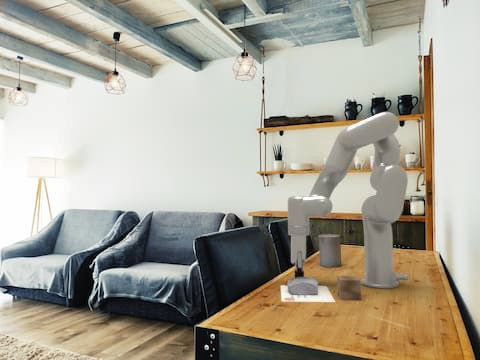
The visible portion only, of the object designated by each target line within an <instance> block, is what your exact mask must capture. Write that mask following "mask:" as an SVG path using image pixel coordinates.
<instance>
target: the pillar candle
mask: <svg viewBox="0 0 480 360" xmlns="http://www.w3.org/2000/svg"><path fill="white" fill-rule="evenodd" d="M341 246H342V245H341V234H336V233H331V232H329V234H328V233H327V234H324V233H323V234H319V235H318V251H319V252H318V253H319V266H320V267H326V268H339V267H341V266H342V247H341Z"/></svg>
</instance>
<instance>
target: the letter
mask: <svg viewBox="0 0 480 360" xmlns="http://www.w3.org/2000/svg"><path fill="white" fill-rule="evenodd" d="M280 298H281V299H280V300H281V301H280V302H281V303H336V300H335V299H334V297H333V295H332V294H331V292H330V290H329V288H328V286H327V285H318V294H317V295H296V294H291V293H290V292H289V291H288V287H287V284H286V285H285V284H283V285H280Z"/></svg>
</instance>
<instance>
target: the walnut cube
mask: <svg viewBox="0 0 480 360" xmlns="http://www.w3.org/2000/svg"><path fill="white" fill-rule="evenodd" d="M336 277H337V279H336V280H337V296H338V298H339V299H340V300H341V301H343V300H344V301H362V295H361V294H362V290H361V289H362V287H361V285H362V284H361V279H360V278H359V277H358V276H357V275H337V276H336Z"/></svg>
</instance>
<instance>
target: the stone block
mask: <svg viewBox="0 0 480 360" xmlns="http://www.w3.org/2000/svg"><path fill="white" fill-rule="evenodd" d="M286 286H287V287H288V291H289V292H290V293H291V294H296V295H317V294H318V286H319V284H318V280H317V279H316V277H315V276H314V277H310V276H309V277H308V276H304V277H296V278H295V277H293V278H292V277H291V278H289V279H288V281H287V284H286Z"/></svg>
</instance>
